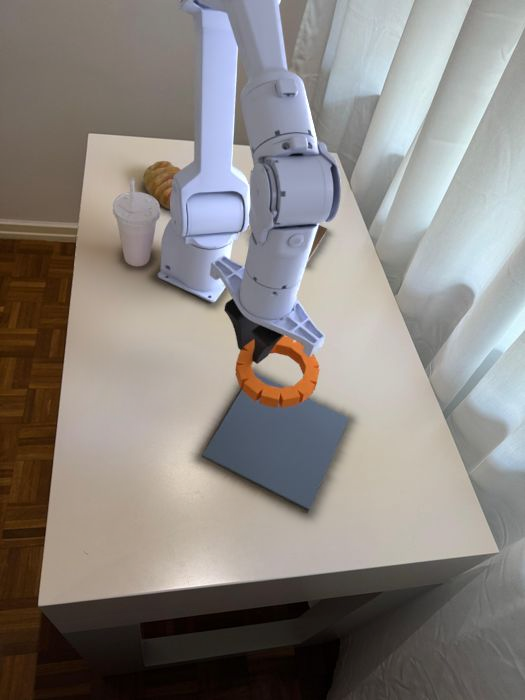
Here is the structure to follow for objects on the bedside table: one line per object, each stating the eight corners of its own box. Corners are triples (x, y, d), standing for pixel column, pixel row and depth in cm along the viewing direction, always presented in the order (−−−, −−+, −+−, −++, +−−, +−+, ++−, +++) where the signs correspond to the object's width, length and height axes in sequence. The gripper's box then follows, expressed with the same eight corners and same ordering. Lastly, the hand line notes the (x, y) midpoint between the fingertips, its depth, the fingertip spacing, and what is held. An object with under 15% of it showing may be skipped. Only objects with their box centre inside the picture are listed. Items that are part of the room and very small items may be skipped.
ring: (219, 372, 65) (220, 363, 63) (273, 331, 70) (275, 322, 68) (280, 422, 61) (282, 414, 60) (332, 376, 66) (335, 367, 65)
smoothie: (116, 241, 87) (112, 162, 76) (159, 244, 88) (161, 166, 77) (113, 271, 83) (109, 193, 72) (158, 274, 85) (160, 197, 74)
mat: (202, 456, 68) (202, 455, 68) (252, 373, 77) (252, 371, 76) (308, 511, 66) (309, 509, 66) (348, 419, 75) (349, 417, 74)
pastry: (200, 207, 95) (201, 189, 92) (162, 217, 92) (163, 198, 89) (175, 174, 99) (175, 155, 96) (138, 182, 96) (138, 163, 93)
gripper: (356, 292, 55) (322, 372, 66) (249, 211, 60) (233, 298, 71) (310, 328, 52) (282, 407, 62) (199, 239, 56) (190, 326, 67)
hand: (253, 351), depth 66 cm, fingers closed on ring, 2 cm apart
